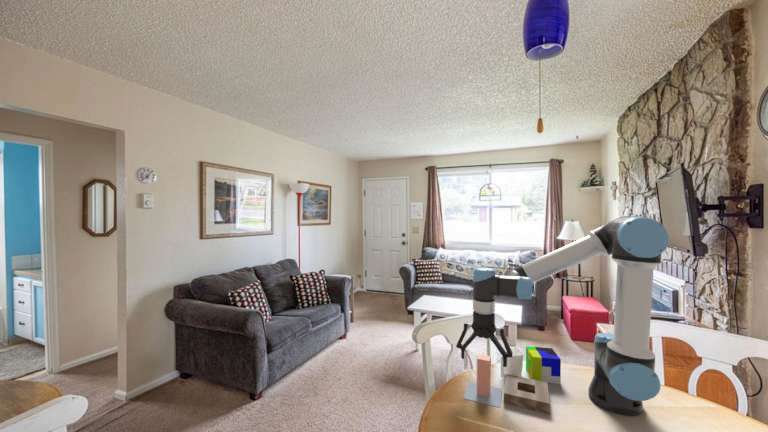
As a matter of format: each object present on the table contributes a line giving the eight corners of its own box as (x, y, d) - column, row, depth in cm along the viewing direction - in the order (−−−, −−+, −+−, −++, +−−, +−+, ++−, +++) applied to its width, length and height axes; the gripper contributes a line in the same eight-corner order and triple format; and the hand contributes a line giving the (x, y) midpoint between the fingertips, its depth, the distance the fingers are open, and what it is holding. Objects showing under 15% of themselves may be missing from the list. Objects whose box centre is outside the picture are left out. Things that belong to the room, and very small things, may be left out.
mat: (502, 390, 114) (502, 388, 114) (499, 409, 103) (499, 407, 103) (469, 383, 119) (469, 381, 119) (463, 399, 108) (463, 398, 108)
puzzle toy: (560, 385, 118) (560, 359, 118) (532, 382, 120) (532, 356, 120) (551, 372, 128) (551, 348, 128) (525, 369, 130) (526, 346, 130)
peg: (490, 391, 112) (490, 356, 112) (489, 398, 109) (489, 361, 108) (478, 389, 114) (478, 353, 114) (476, 395, 110) (477, 358, 110)
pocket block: (547, 393, 113) (547, 382, 113) (549, 415, 100) (550, 403, 100) (505, 384, 118) (506, 373, 118) (503, 404, 106) (503, 393, 106)
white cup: (502, 379, 122) (502, 353, 122) (501, 369, 130) (501, 345, 130) (524, 382, 120) (524, 356, 120) (521, 372, 127) (521, 348, 127)
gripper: (520, 312, 110) (520, 373, 110) (452, 304, 120) (452, 360, 120) (520, 319, 103) (519, 384, 103) (448, 309, 113) (447, 368, 113)
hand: (483, 371), depth 111 cm, fingers open, 12 cm apart
